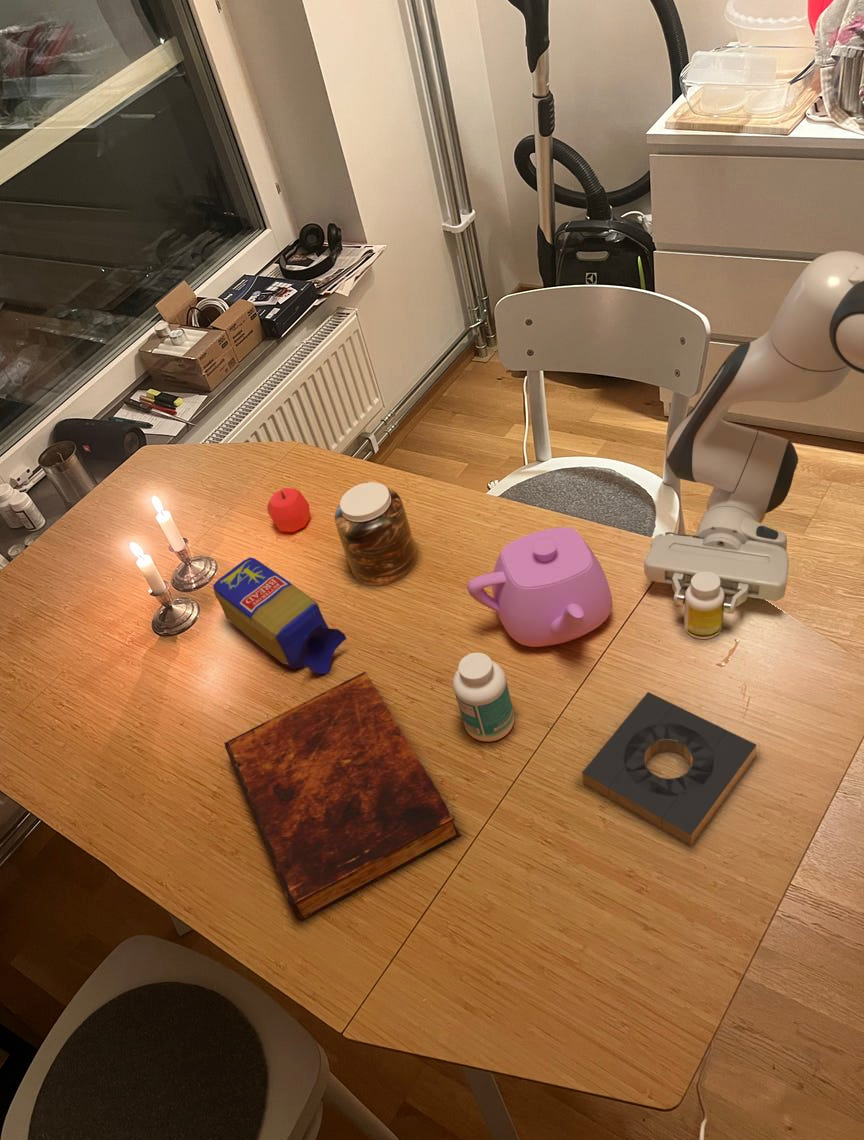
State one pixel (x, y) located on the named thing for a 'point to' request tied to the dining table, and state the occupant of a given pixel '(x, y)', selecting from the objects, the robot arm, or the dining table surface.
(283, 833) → the book
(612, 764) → the drain plate
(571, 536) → the teapot
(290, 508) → the apple
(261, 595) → the bread
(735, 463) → the robot arm
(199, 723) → the dining table surface
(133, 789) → the dining table surface
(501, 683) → the pill bottle
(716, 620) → the supplement bottle
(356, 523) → the jar
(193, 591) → the dining table surface
